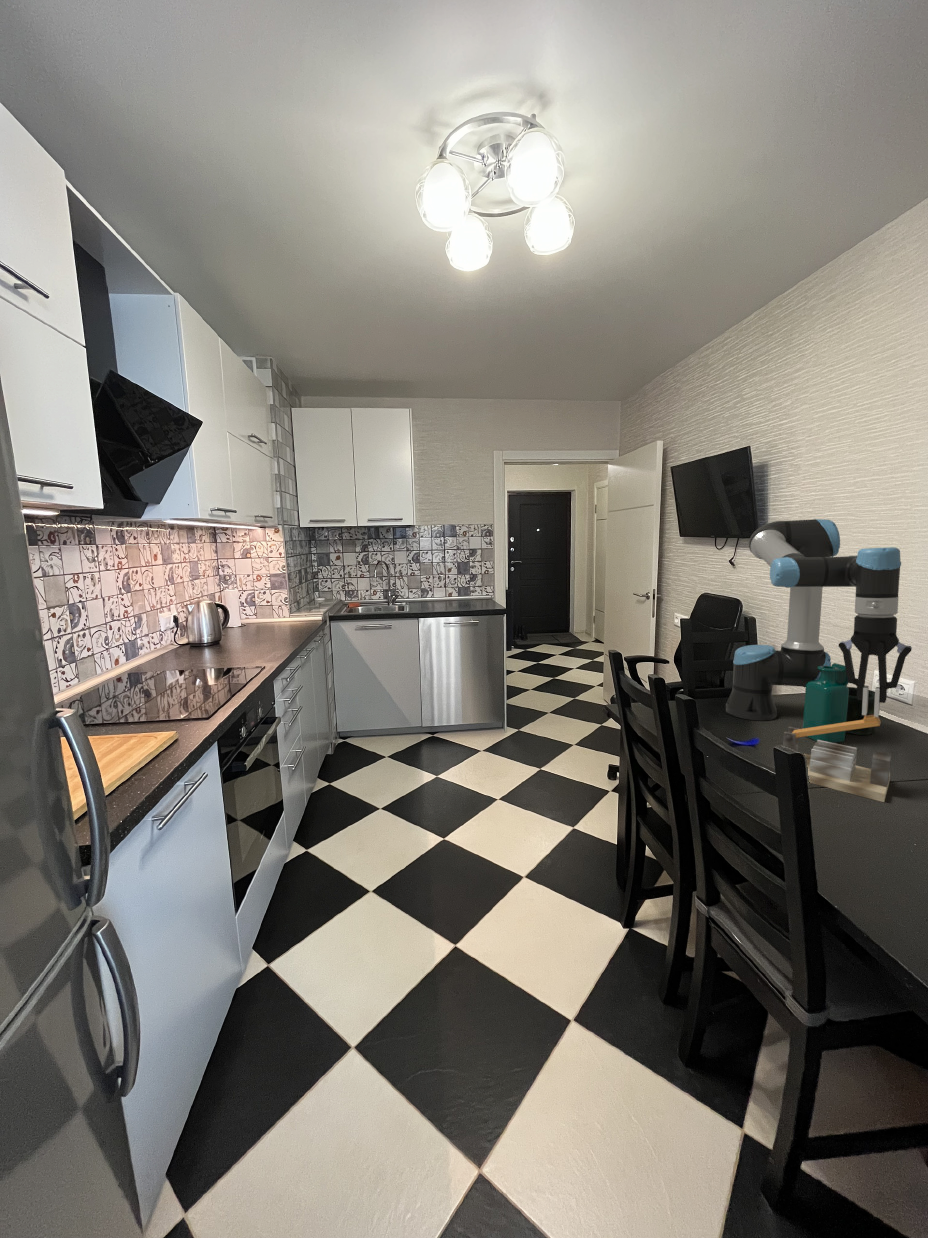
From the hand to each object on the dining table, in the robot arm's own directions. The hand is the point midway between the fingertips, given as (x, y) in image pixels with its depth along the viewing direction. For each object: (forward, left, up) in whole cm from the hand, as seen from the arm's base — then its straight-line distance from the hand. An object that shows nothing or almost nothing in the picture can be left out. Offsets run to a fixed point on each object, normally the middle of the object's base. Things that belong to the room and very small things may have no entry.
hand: (870, 714), depth 114 cm
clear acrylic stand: (-6, -3, -18) cm, 19 cm away
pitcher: (-23, +20, -18) cm, 36 cm away
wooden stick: (-6, -3, -6) cm, 8 cm away
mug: (-25, +35, -18) cm, 47 cm away
